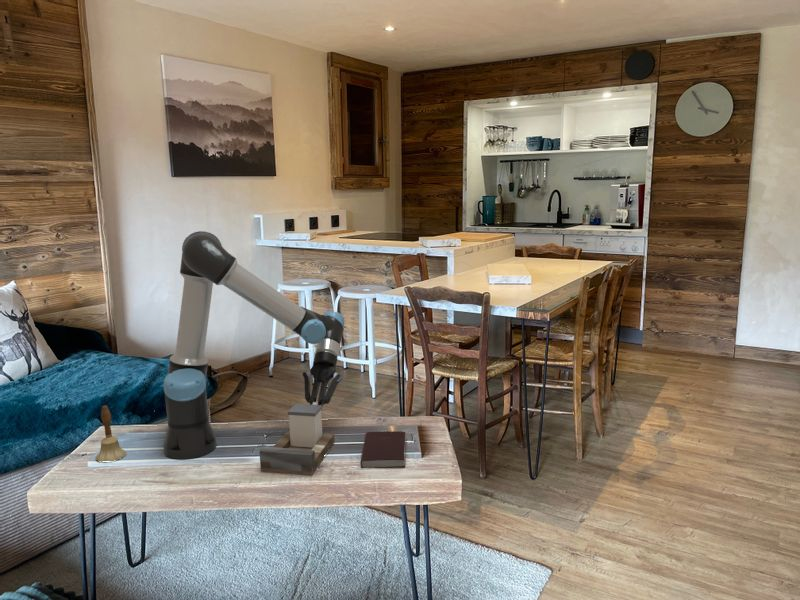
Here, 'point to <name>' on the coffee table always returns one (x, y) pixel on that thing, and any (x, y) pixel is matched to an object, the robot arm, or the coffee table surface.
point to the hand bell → (109, 440)
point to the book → (383, 450)
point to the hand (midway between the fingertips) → (312, 423)
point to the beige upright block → (305, 425)
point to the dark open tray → (318, 456)
